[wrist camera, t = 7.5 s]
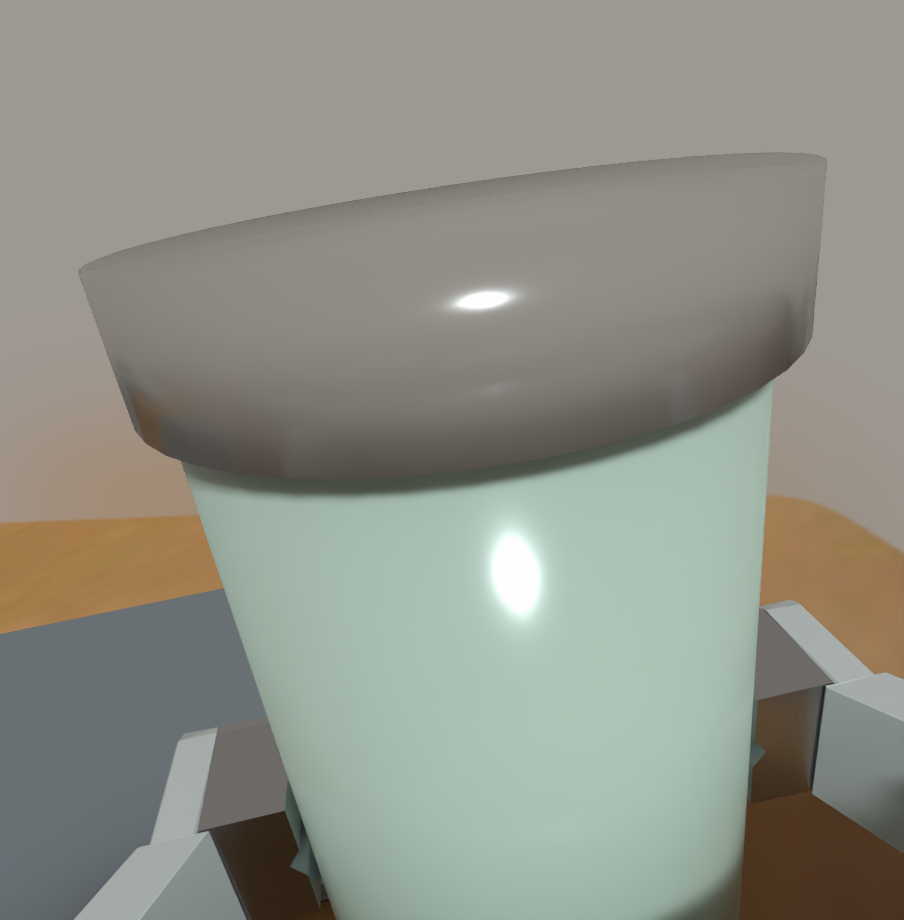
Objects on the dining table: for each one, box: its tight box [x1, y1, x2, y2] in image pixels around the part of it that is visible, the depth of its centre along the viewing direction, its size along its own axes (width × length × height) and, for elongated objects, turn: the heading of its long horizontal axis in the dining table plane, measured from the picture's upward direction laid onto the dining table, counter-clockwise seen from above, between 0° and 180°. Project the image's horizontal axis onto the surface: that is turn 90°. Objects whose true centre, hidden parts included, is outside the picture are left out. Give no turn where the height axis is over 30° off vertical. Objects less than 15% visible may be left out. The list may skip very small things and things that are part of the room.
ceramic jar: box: [78, 153, 827, 920], centre depth 9 cm, size 6×6×13 cm
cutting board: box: [0, 588, 329, 920], centre depth 22 cm, size 20×14×1 cm
